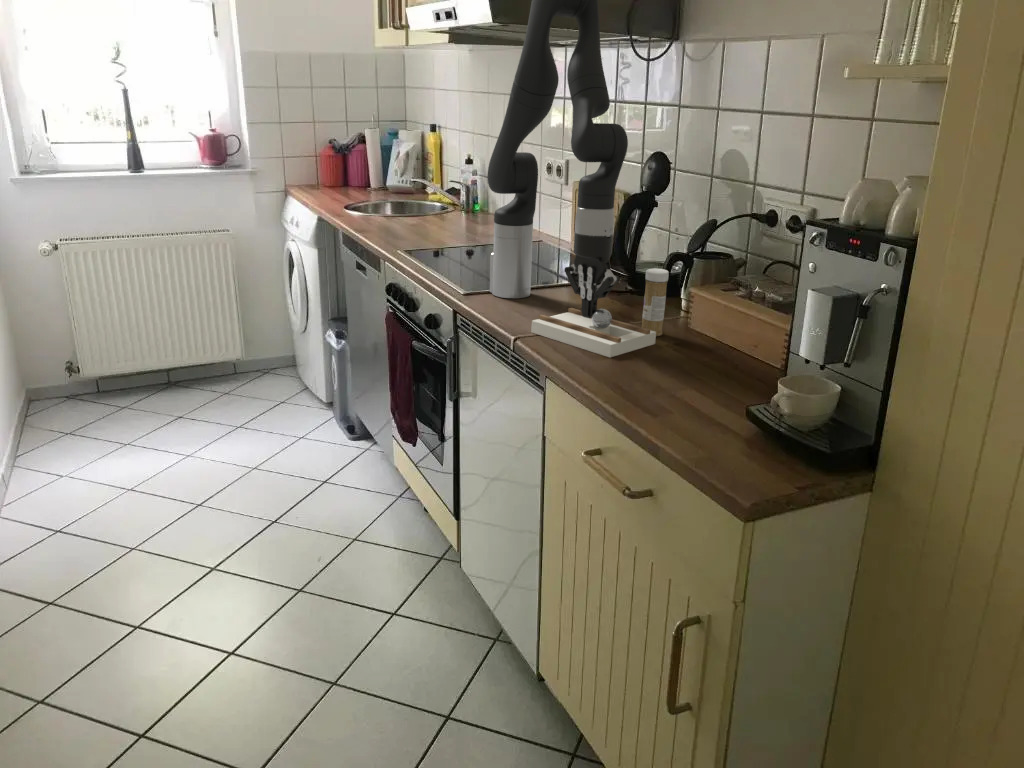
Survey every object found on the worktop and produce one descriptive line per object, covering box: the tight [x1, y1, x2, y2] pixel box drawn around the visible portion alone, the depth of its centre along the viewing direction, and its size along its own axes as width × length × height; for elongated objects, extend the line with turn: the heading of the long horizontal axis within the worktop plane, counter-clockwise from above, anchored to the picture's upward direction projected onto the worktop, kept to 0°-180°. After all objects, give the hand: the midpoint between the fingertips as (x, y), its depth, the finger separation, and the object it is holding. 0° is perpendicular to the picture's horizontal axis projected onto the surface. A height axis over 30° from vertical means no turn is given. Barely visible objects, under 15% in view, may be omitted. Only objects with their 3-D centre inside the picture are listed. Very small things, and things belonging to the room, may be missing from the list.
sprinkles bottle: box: [641, 267, 670, 337], centre depth 166 cm, size 5×5×13 cm
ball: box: [592, 308, 613, 329], centre depth 161 cm, size 4×4×4 cm
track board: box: [530, 307, 657, 358], centre depth 164 cm, size 21×14×3 cm, turn 44°
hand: (588, 316), depth 163 cm, fingers closed
